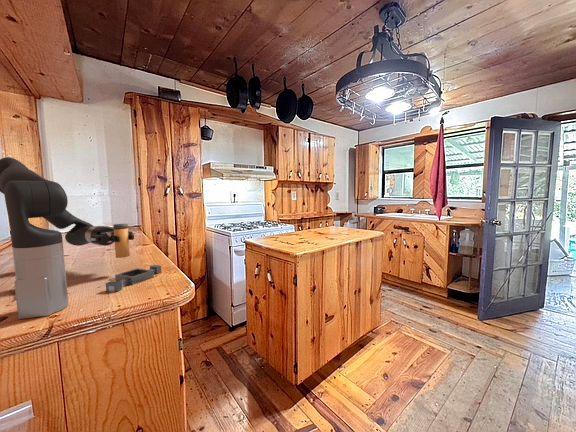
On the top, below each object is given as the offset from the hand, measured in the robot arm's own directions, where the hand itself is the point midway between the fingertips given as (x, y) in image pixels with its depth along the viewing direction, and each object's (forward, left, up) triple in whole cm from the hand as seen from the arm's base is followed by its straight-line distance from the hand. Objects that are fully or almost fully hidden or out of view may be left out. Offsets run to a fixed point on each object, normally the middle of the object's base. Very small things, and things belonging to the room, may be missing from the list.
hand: (125, 238), depth 94 cm
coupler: (+2, +2, -7) cm, 8 cm away
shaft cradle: (-8, -4, -14) cm, 16 cm away
